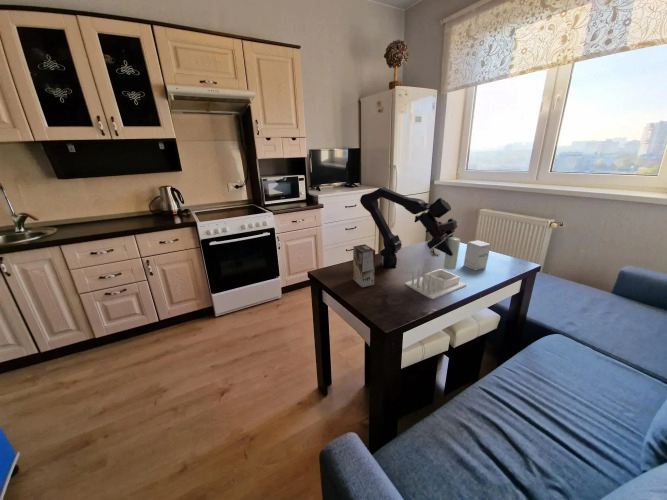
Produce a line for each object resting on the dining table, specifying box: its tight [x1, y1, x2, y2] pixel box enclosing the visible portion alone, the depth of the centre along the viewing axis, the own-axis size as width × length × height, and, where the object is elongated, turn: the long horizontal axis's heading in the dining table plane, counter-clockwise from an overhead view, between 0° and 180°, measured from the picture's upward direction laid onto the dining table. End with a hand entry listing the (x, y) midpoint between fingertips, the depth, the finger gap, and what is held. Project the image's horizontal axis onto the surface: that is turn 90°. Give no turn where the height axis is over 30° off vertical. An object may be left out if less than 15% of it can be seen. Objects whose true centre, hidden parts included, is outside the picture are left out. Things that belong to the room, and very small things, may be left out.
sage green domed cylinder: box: [443, 236, 461, 271], centre depth 115 cm, size 5×5×13 cm
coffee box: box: [352, 243, 376, 288], centre depth 118 cm, size 9×6×16 cm
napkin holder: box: [433, 246, 442, 256], centre depth 155 cm, size 15×11×6 cm
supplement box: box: [463, 239, 491, 271], centre depth 132 cm, size 7×7×13 cm
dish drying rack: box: [404, 268, 467, 300], centre depth 116 cm, size 21×15×7 cm
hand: (453, 253), depth 115 cm, fingers closed on sage green domed cylinder, 5 cm apart
